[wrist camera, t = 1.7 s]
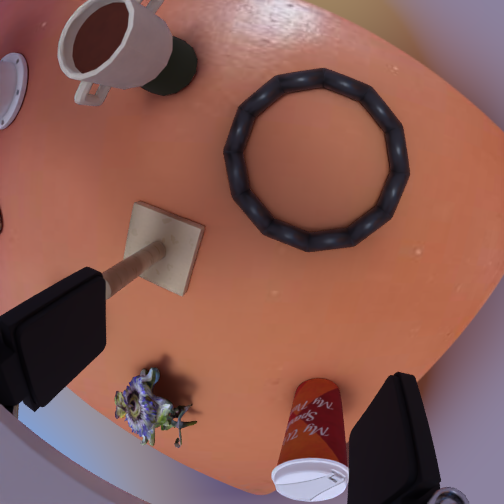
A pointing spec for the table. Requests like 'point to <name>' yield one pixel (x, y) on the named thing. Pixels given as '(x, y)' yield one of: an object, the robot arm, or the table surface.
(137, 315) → the table surface
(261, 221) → the ring
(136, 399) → the passion flower
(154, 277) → the post
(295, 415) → the paper cup
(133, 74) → the white handled cup
